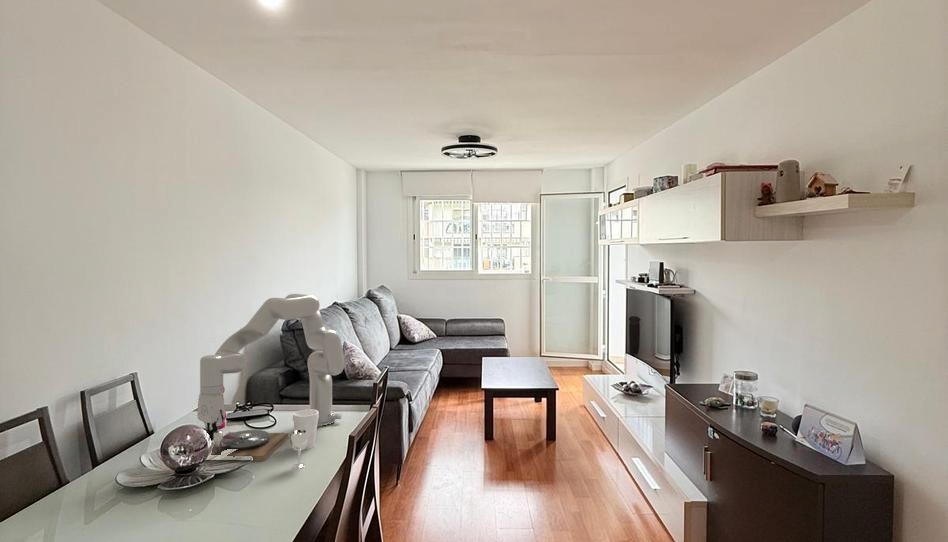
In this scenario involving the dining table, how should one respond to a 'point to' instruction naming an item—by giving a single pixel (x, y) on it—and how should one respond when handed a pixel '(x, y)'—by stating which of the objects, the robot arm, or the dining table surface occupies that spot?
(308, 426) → the foam cup
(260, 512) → the dining table surface
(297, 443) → the wineglass
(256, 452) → the brown flat board
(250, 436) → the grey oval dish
